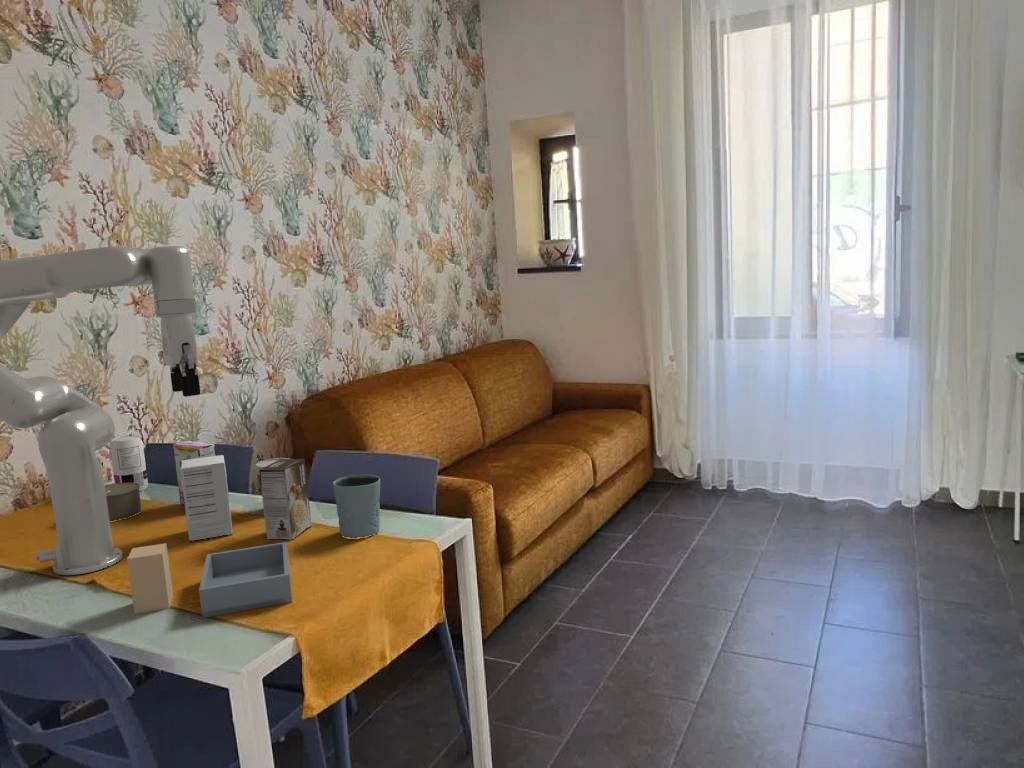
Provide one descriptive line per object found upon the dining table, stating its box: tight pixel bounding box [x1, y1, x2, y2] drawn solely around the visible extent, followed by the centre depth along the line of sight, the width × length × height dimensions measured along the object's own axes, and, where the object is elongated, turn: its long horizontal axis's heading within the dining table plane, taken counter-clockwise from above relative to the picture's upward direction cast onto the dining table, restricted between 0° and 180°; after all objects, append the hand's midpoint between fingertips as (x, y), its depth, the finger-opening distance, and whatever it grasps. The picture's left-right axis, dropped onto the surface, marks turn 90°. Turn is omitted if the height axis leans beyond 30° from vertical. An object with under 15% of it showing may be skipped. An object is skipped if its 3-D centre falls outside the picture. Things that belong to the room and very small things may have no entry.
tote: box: [198, 541, 293, 619], centre depth 134 cm, size 15×18×5 cm
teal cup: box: [332, 474, 381, 538], centre depth 161 cm, size 10×10×12 cm
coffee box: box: [259, 458, 312, 539], centre depth 163 cm, size 9×6×16 cm
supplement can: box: [109, 435, 149, 493], centre depth 206 cm, size 8×8×15 cm
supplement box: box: [180, 454, 233, 541], centre depth 166 cm, size 10×9×17 cm
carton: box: [126, 542, 174, 615], centre depth 130 cm, size 6×6×10 cm
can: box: [104, 483, 142, 521], centre depth 184 cm, size 12×12×7 cm
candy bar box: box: [172, 440, 217, 507], centre depth 187 cm, size 11×5×16 cm, turn 58°
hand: (186, 393), depth 149 cm, fingers open, 9 cm apart
